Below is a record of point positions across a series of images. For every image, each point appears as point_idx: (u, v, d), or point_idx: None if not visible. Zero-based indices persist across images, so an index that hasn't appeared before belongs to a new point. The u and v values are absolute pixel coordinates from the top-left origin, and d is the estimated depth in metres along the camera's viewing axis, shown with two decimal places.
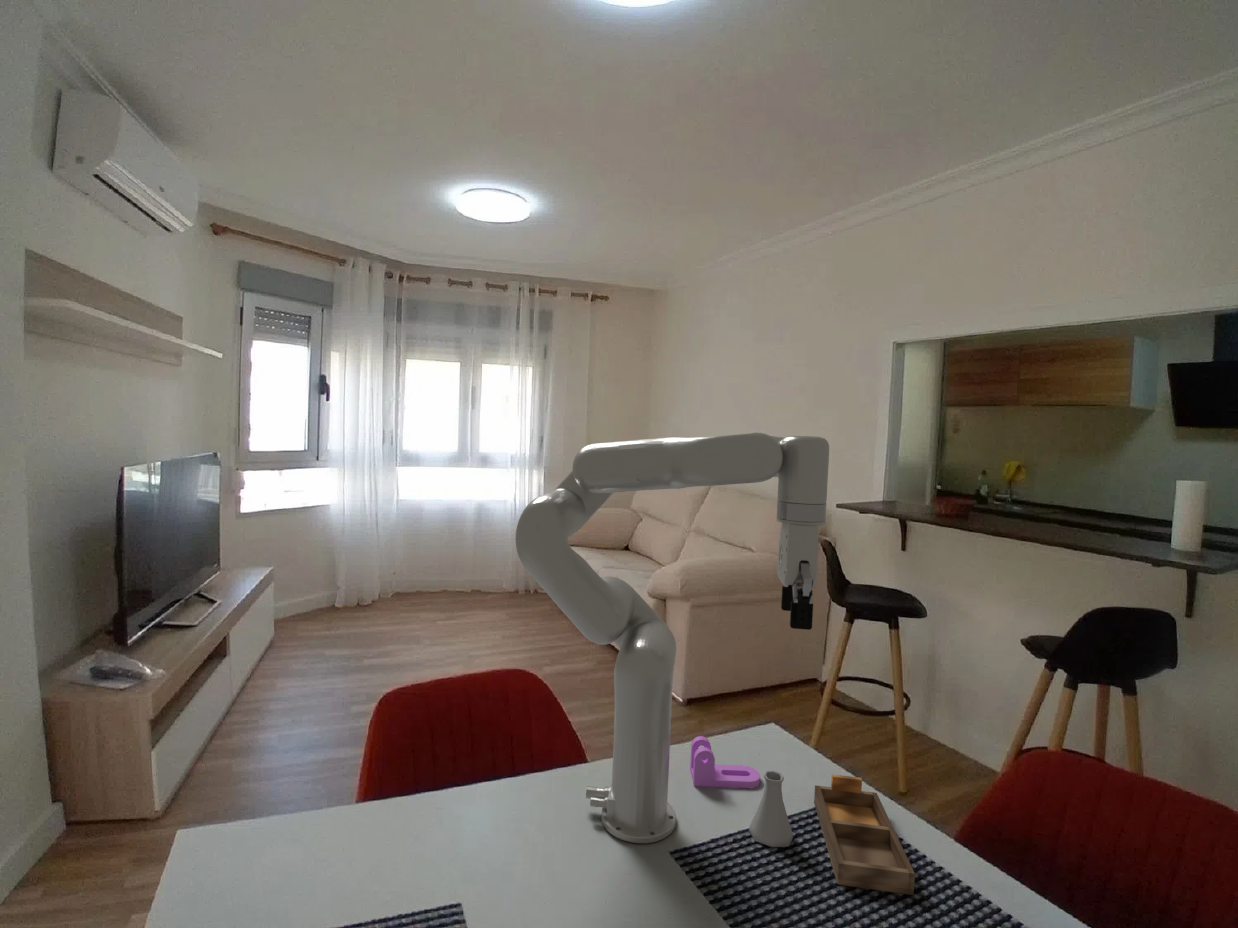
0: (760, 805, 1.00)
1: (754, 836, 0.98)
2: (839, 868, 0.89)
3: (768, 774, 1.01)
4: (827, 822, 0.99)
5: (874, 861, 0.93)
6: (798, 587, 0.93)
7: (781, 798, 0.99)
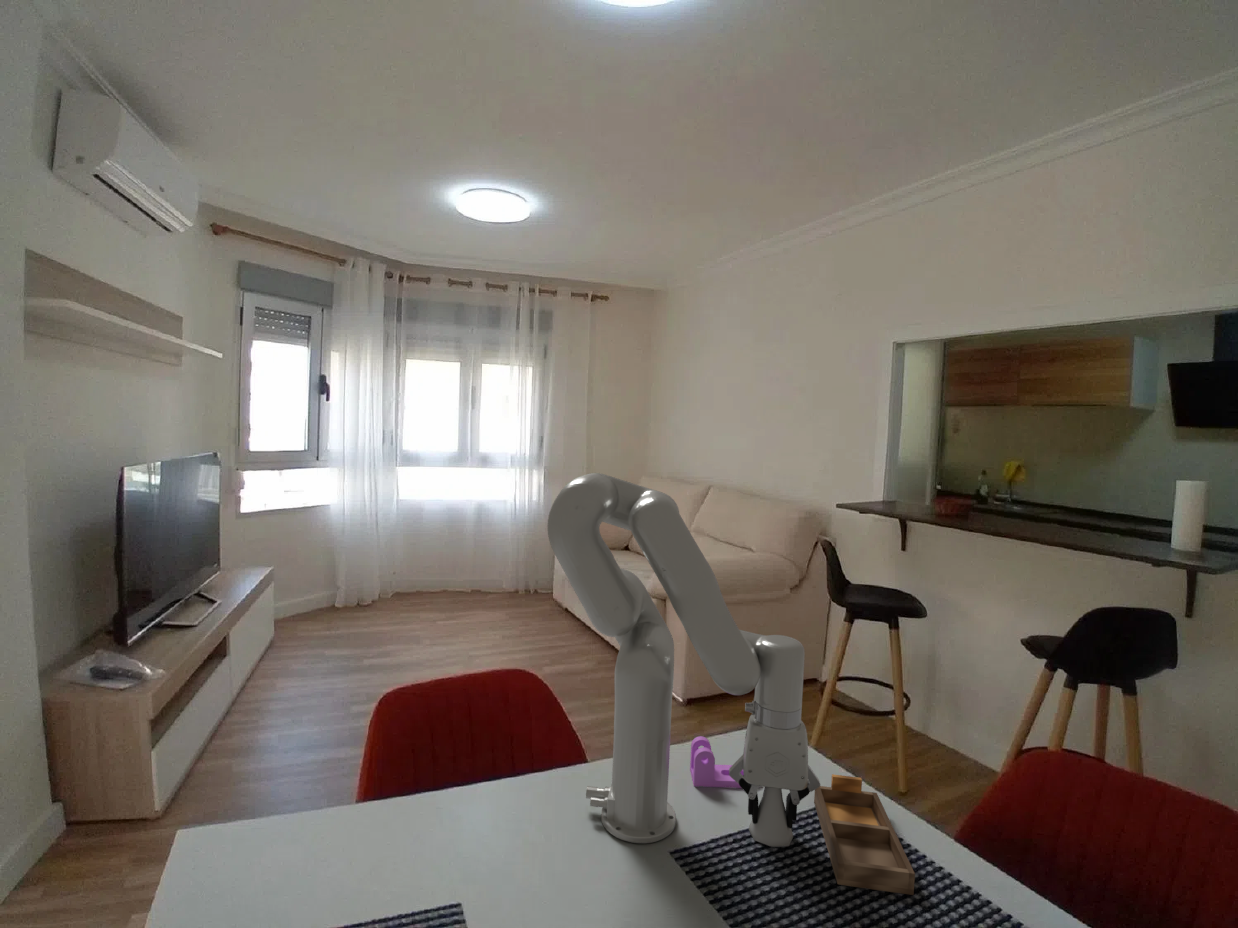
0: (760, 805, 1.00)
1: (754, 836, 0.98)
2: (839, 868, 0.89)
3: None
4: (827, 822, 0.99)
5: (874, 861, 0.93)
6: None
7: (781, 798, 0.99)
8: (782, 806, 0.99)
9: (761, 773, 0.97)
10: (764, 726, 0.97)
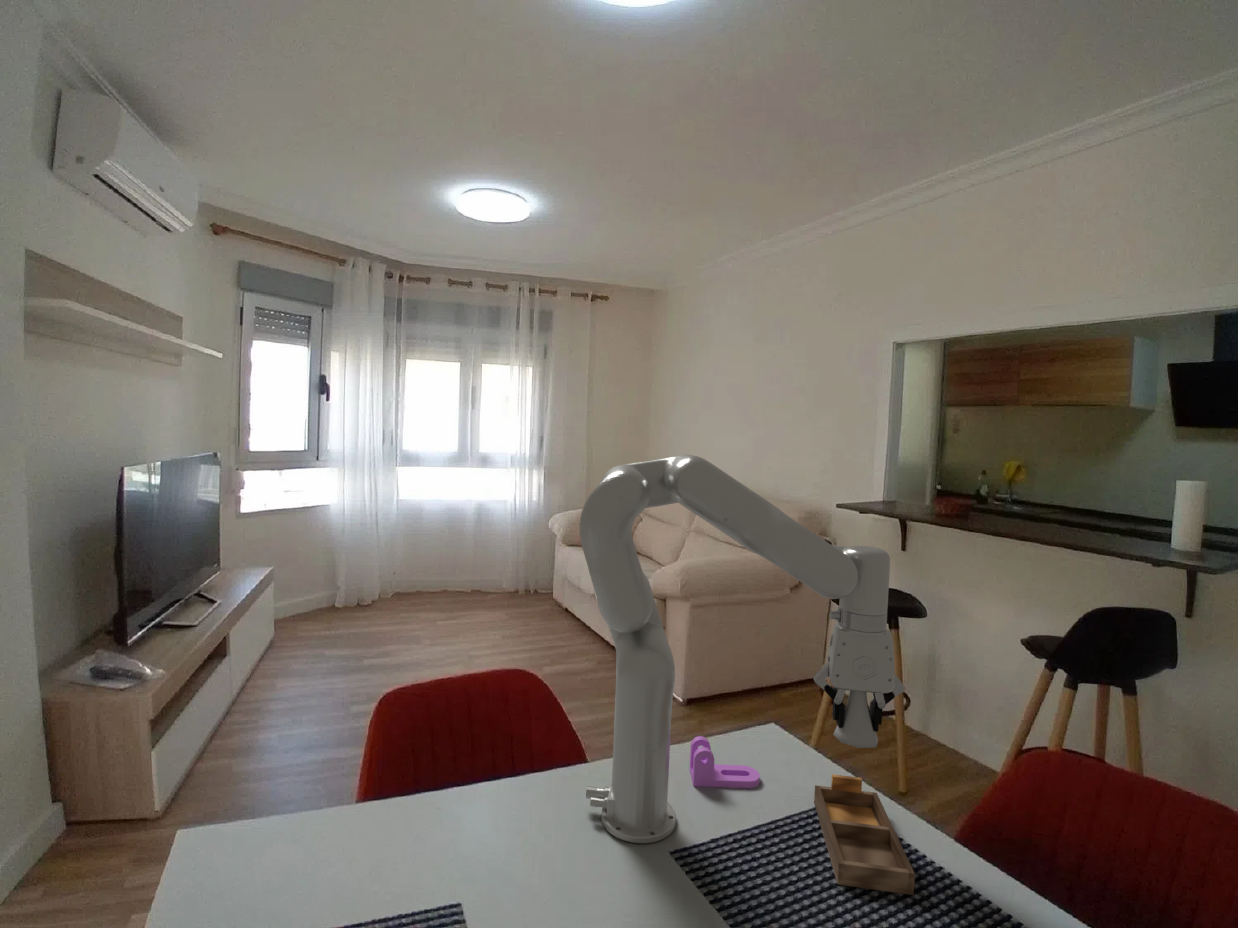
0: (845, 710, 1.02)
1: (841, 739, 1.01)
2: (839, 868, 0.89)
3: None
4: (827, 822, 0.99)
5: (874, 861, 0.93)
6: None
7: (866, 702, 1.02)
8: (868, 710, 1.01)
9: (848, 677, 1.00)
10: (851, 631, 0.99)
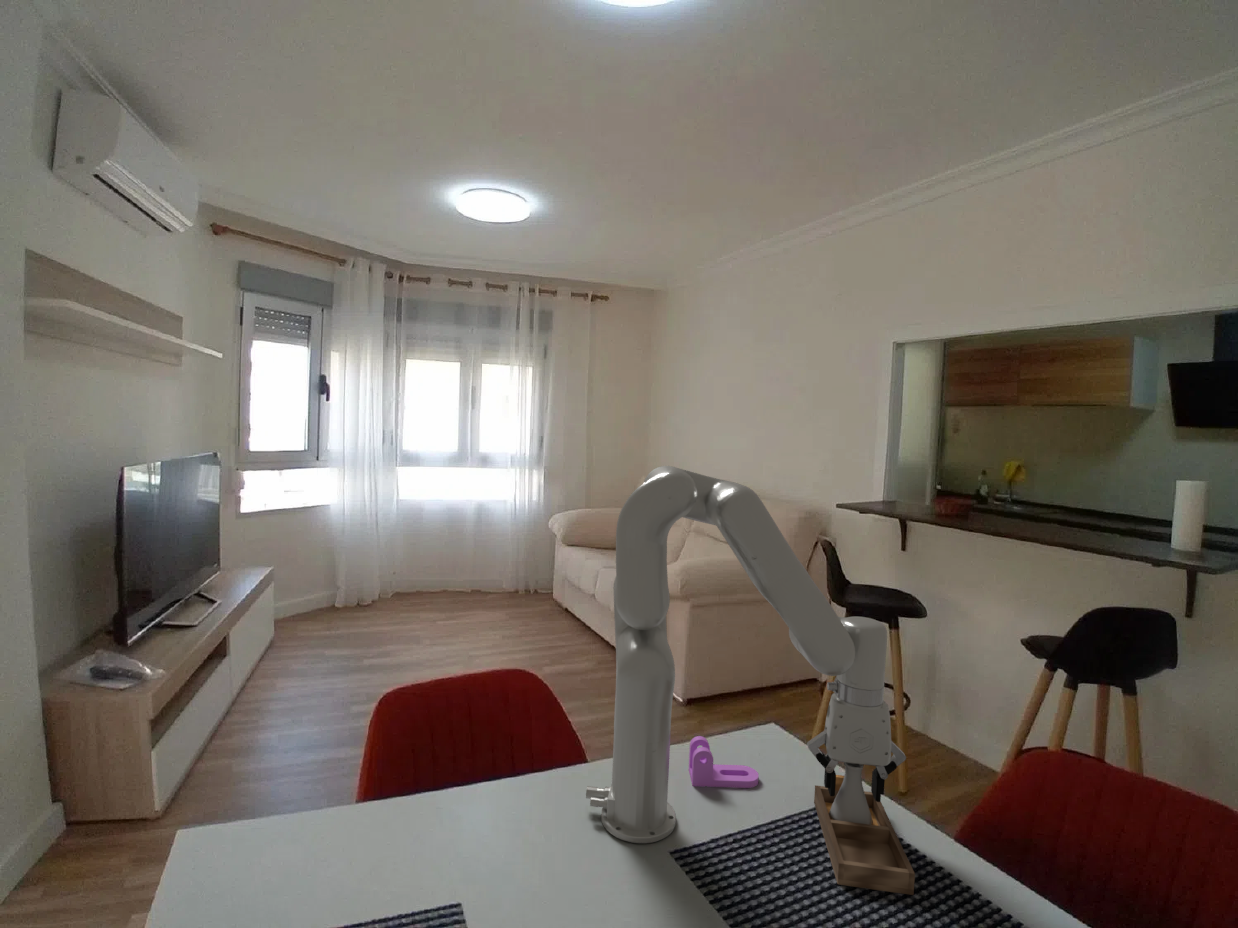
0: (840, 791, 1.03)
1: None
2: (839, 868, 0.89)
3: None
4: (827, 822, 0.99)
5: (874, 861, 0.93)
6: None
7: (861, 784, 1.02)
8: (862, 792, 1.02)
9: (845, 749, 1.00)
10: (849, 704, 1.00)
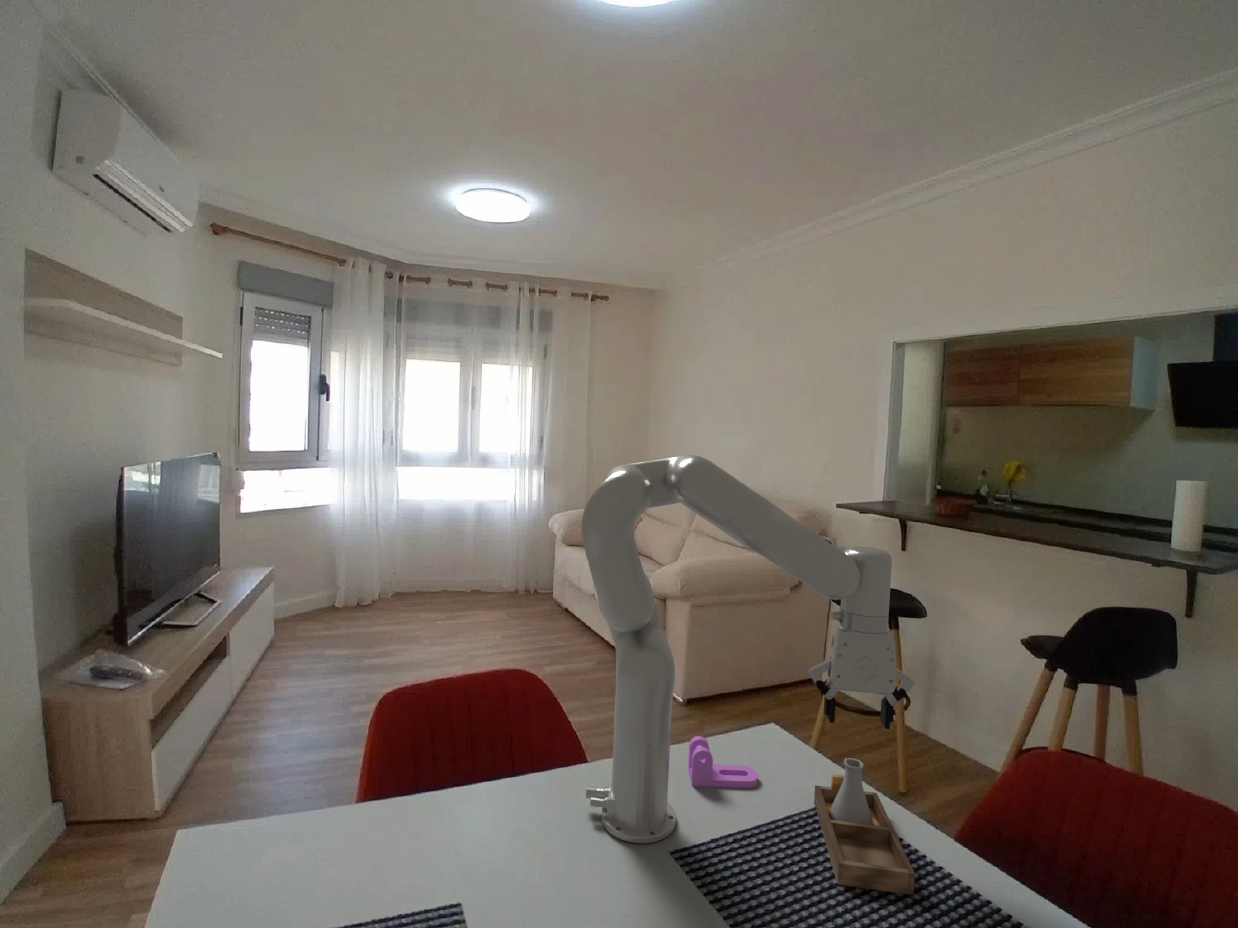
0: (840, 791, 1.03)
1: None
2: (839, 868, 0.89)
3: (847, 761, 1.04)
4: (827, 822, 0.99)
5: (874, 861, 0.93)
6: None
7: (861, 784, 1.02)
8: (862, 792, 1.02)
9: (849, 678, 1.00)
10: (853, 631, 0.99)
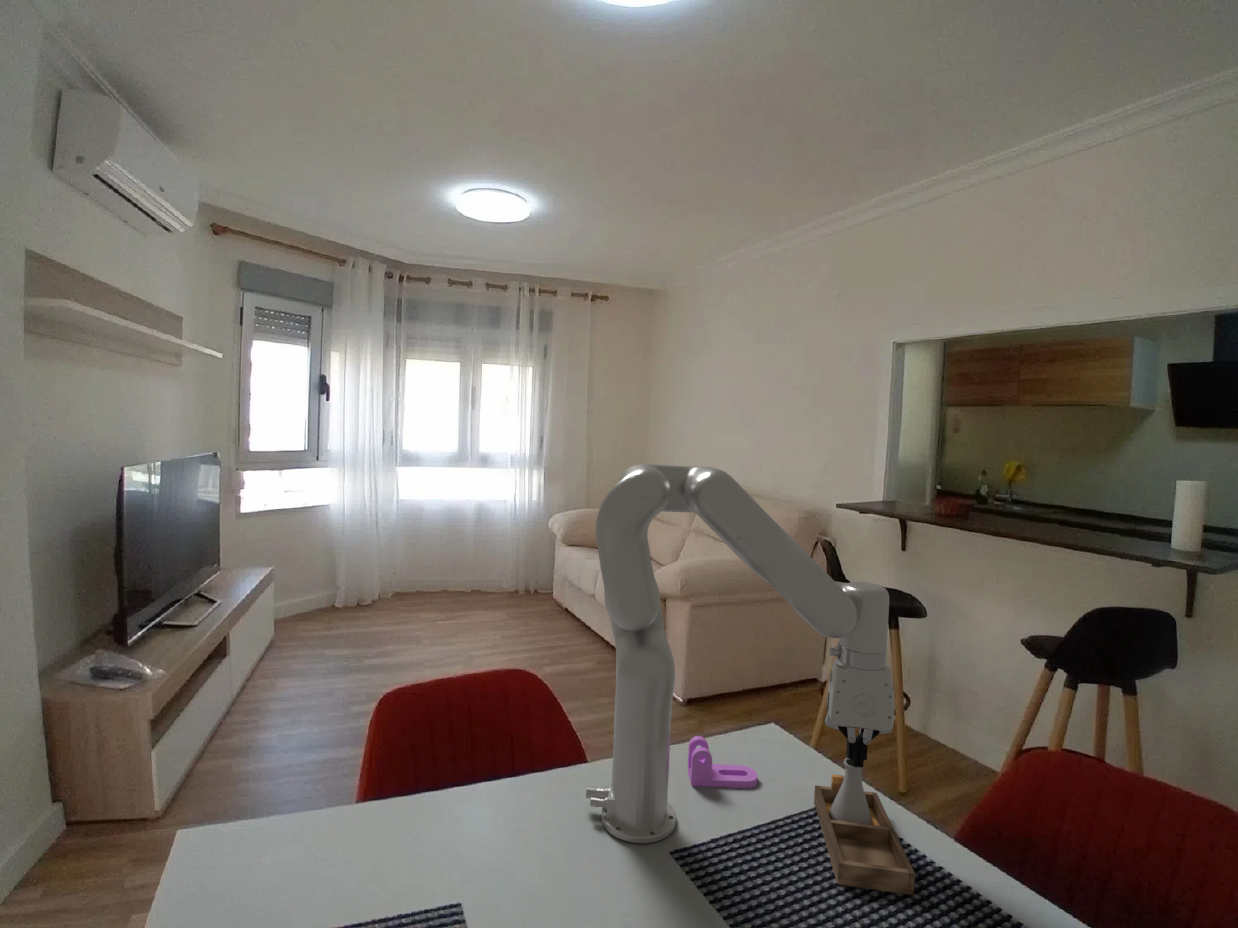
0: (840, 791, 1.03)
1: None
2: (839, 868, 0.89)
3: (847, 761, 1.04)
4: (827, 822, 0.99)
5: (874, 861, 0.93)
6: None
7: (861, 784, 1.02)
8: (862, 792, 1.02)
9: (848, 714, 1.00)
10: (851, 668, 1.00)
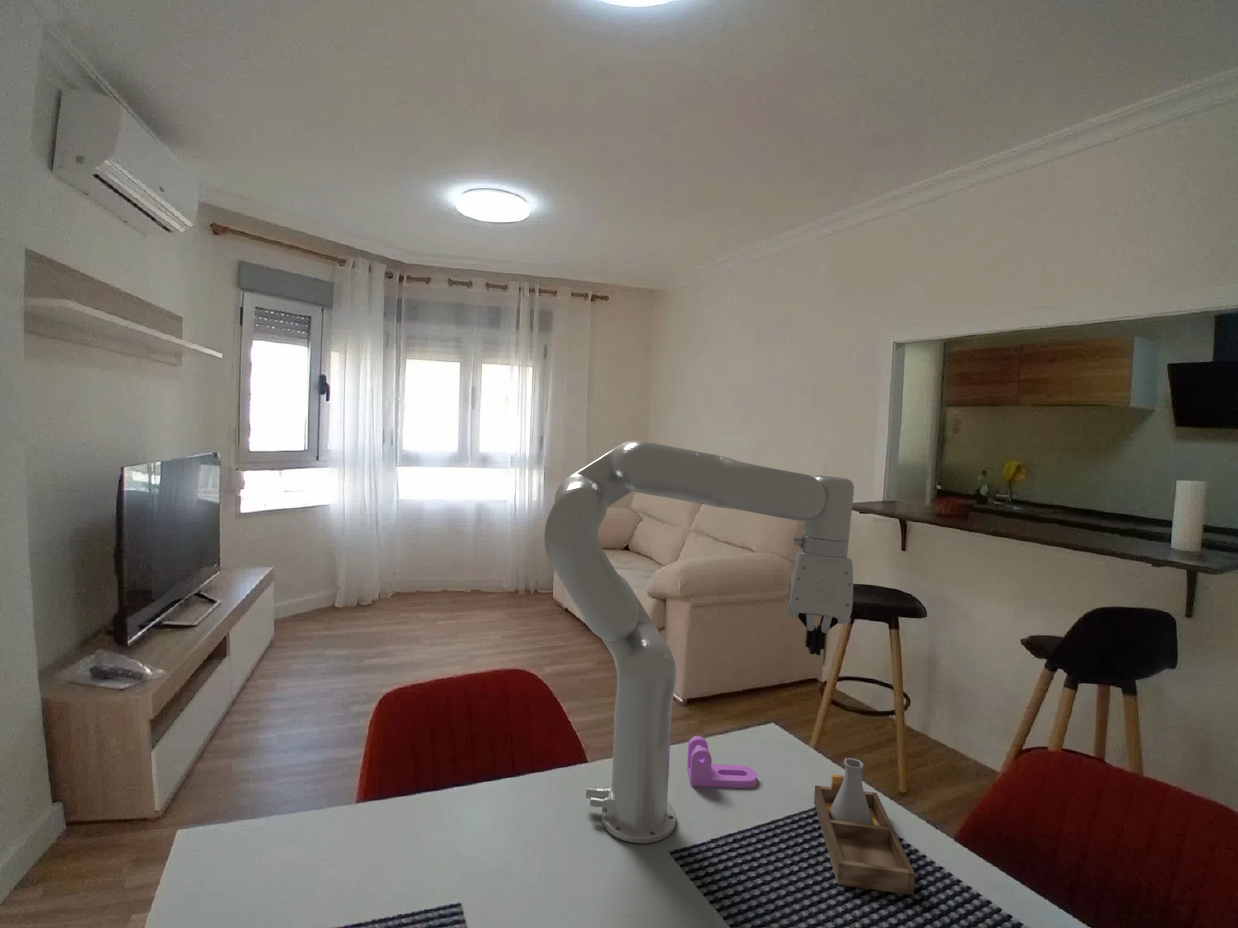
0: (840, 791, 1.03)
1: None
2: (839, 868, 0.89)
3: (847, 761, 1.04)
4: (827, 822, 0.99)
5: (874, 861, 0.93)
6: None
7: (861, 784, 1.02)
8: (862, 792, 1.02)
9: (807, 600, 1.02)
10: (812, 555, 1.02)
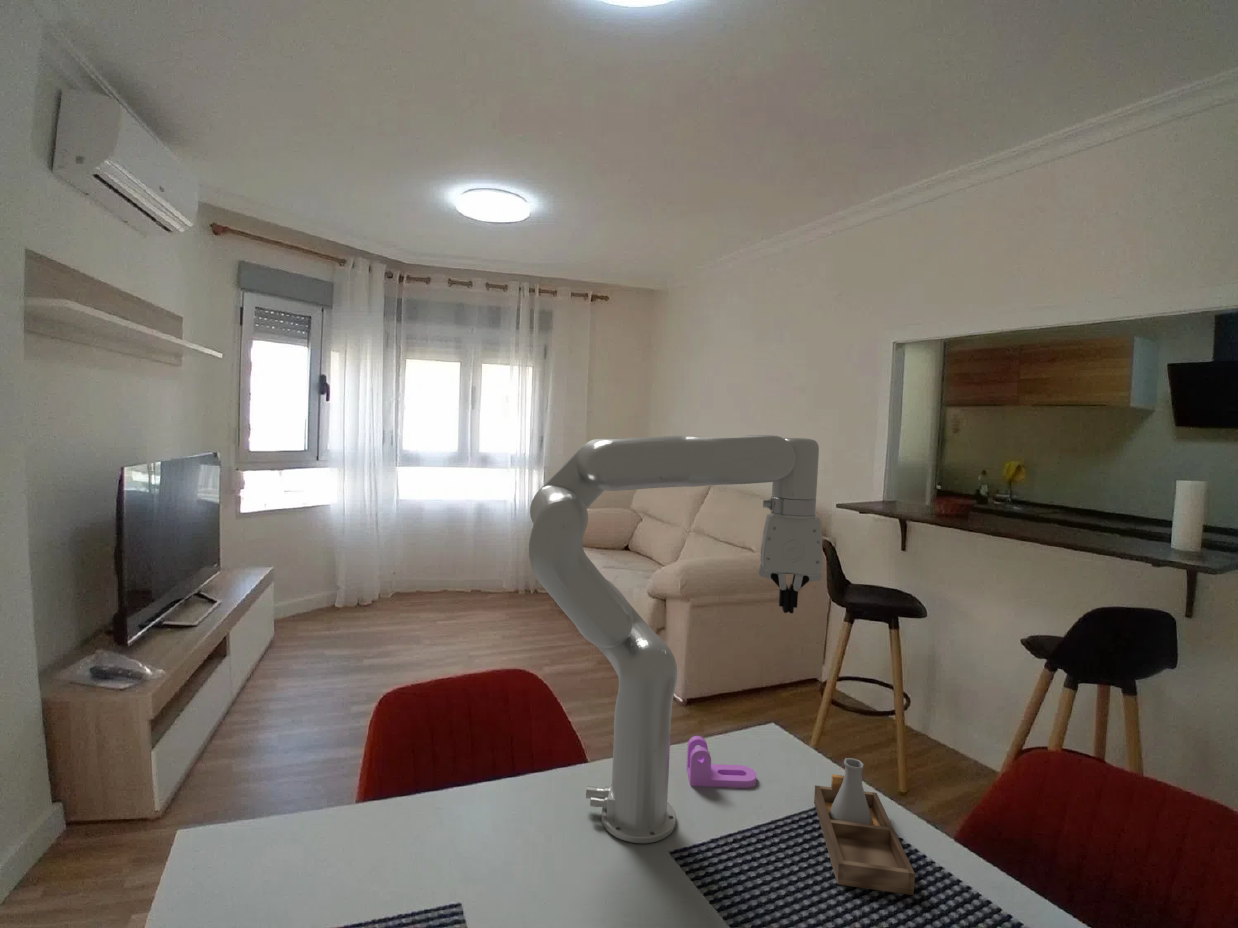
0: (840, 791, 1.03)
1: None
2: (839, 868, 0.89)
3: (847, 761, 1.04)
4: (827, 822, 0.99)
5: (874, 861, 0.93)
6: None
7: (861, 784, 1.02)
8: (862, 792, 1.02)
9: (778, 560, 1.04)
10: (781, 515, 1.04)
